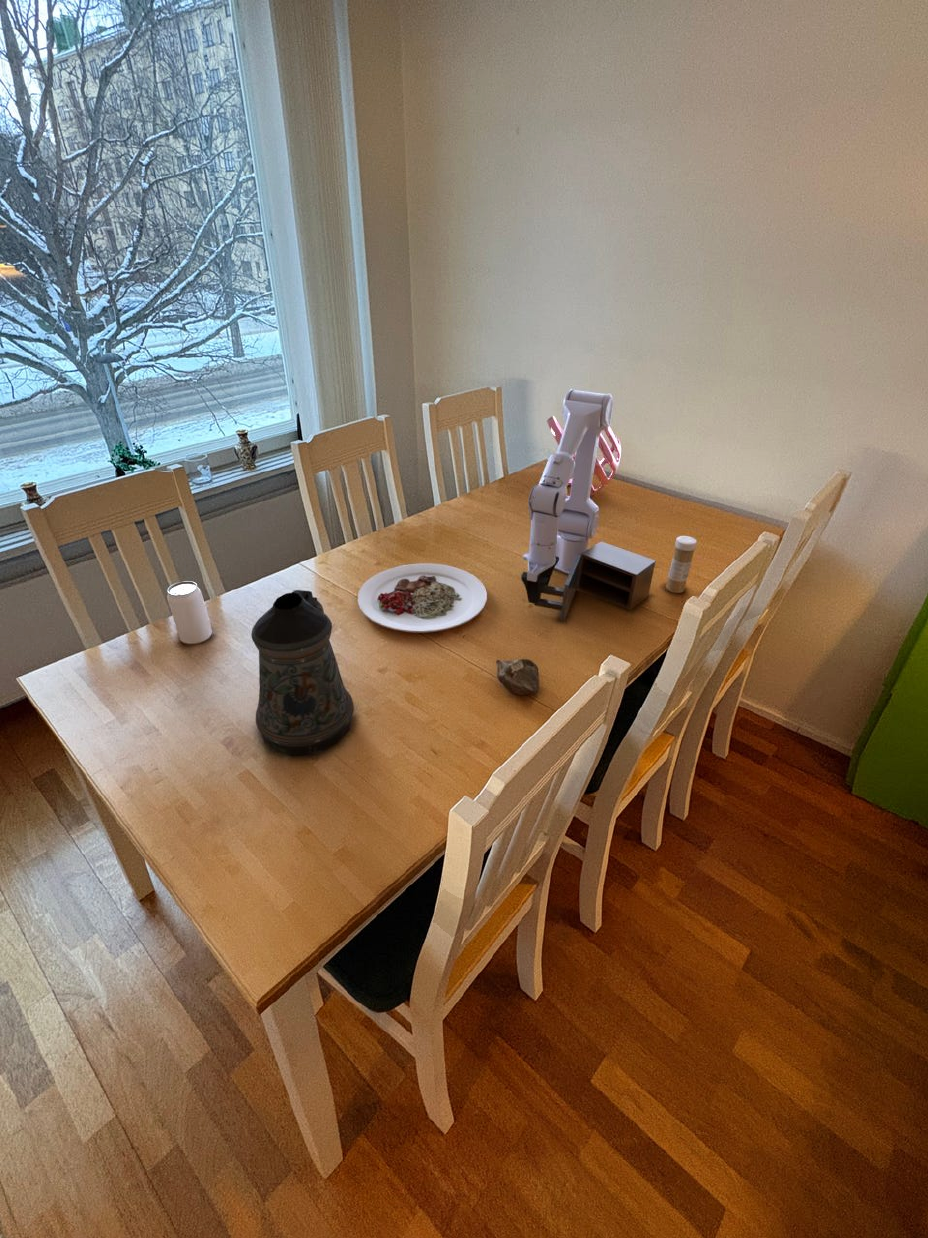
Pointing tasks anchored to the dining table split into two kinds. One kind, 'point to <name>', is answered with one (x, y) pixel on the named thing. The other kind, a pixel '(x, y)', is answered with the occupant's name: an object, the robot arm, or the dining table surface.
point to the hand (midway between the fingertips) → (538, 594)
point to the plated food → (422, 597)
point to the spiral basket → (600, 464)
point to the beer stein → (299, 678)
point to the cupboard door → (562, 592)
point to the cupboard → (615, 575)
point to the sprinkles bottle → (681, 564)
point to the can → (189, 612)
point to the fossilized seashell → (519, 676)
